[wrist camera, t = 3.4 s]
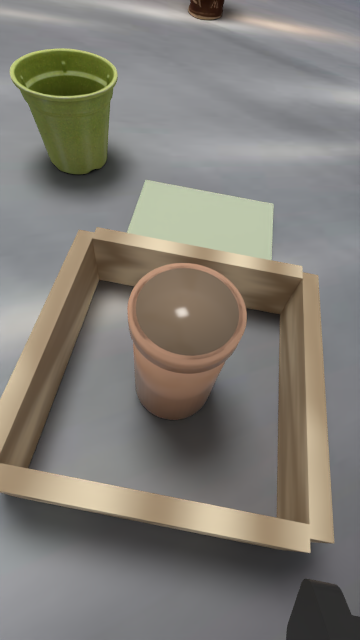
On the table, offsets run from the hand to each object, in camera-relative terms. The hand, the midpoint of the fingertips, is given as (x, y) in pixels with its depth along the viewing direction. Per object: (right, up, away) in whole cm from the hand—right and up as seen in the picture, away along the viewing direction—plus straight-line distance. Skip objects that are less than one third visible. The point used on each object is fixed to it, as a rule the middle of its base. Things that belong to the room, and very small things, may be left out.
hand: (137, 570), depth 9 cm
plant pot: (-10, +24, +30) cm, 40 cm away
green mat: (+3, +16, +26) cm, 31 cm away
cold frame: (0, +2, +17) cm, 17 cm away
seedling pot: (0, +2, +17) cm, 17 cm away
